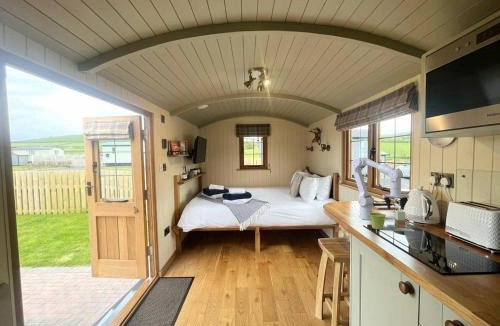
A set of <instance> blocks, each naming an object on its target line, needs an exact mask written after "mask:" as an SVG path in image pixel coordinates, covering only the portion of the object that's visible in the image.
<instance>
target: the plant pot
mask: <svg viewBox="0 0 500 326" xmlns="http://www.w3.org/2000/svg"><path fill="white" fill-rule="evenodd" d="M369 215H370V218H371V220H370V222H371V223H370V224H371V227H372V229H375V230H384V225H385V219H386V217H387V214H385V213H381V212H372V213H369Z"/></svg>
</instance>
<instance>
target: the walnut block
mask: <svg viewBox="0 0 500 326" xmlns="http://www.w3.org/2000/svg"><path fill="white" fill-rule="evenodd" d="M394 225H395V227H397V228H405V225H406V219H405V220H397V219H395V218H394Z"/></svg>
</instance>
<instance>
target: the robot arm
mask: <svg viewBox="0 0 500 326" xmlns="http://www.w3.org/2000/svg"><path fill="white" fill-rule="evenodd" d="M351 164H352V173H353V177H354V180H355V183H356V186H357V188H358V192H359V193H358V196H357V197H358V204H359V205H360V207H359V215H358V217H359V218H360V219H361V220H365V221H366V220H367V221H371V218H370V215H369V213H373V205H374V204H375V199H374V198H373V196H372V193H370V192H369V191H368V188H367V184H366V182H365V178H364V176H363V173H362V172H363V169H364V168H365V167H367V166H369V167H373V168H374V169H377V170H378V172H379V173H382V174H384V175H386V176H388V177H389V181H390V182H389V187H390V189H389V190H390V191H389V192H390V194H382V199H383V200H384V201H385V203H386V207H387V210H389V211H390V210H391V202H392V199H399V200H400V210H401V211H404V210H405V206H406V205H407V202H409V199H410V195H408V194H402V177H403V171H402V170H401V169H399V168H396V169H395V167H392V166H389V164H387V163H384V164H381V163H378V162H376V161H374V160H372V159H369V158H368V157H354V158H353V160H352V162H351Z"/></svg>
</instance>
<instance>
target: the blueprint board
mask: <svg viewBox="0 0 500 326" xmlns="http://www.w3.org/2000/svg"><path fill="white" fill-rule="evenodd" d="M386 226H387V227H388V228H390V230H392V231H393V232H403V233H404V232H406V233H407V232H410V233H415V232H416V231H415V230H414V229H413V228H411V227H409V226H408V225H406V224H405V228H397V227H395V224H386Z"/></svg>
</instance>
